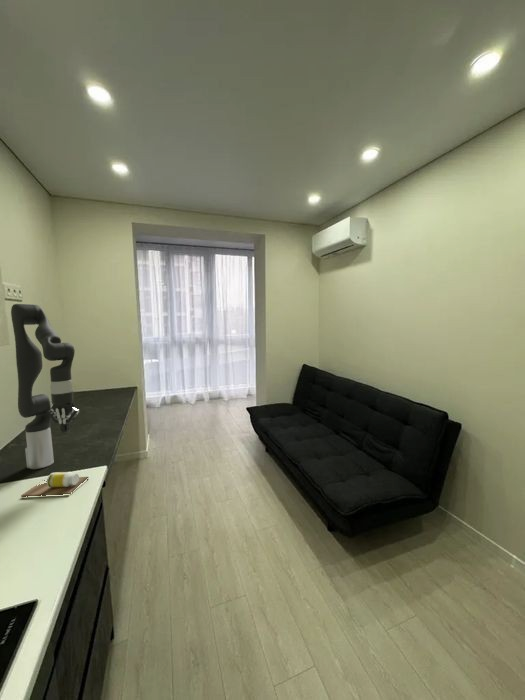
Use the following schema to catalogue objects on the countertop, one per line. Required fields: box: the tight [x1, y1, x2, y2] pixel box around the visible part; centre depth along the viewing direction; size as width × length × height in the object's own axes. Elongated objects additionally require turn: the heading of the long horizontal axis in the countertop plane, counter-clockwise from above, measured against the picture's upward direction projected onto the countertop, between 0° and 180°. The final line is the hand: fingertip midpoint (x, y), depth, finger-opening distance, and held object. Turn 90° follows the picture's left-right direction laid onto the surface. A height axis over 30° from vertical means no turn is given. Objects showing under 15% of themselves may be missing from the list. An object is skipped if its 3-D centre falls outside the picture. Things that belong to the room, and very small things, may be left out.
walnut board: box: [20, 476, 89, 498], centre depth 114 cm, size 18×12×1 cm, turn 91°
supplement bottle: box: [46, 471, 80, 487], centre depth 113 cm, size 5×5×10 cm
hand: (65, 432), depth 121 cm, fingers closed
